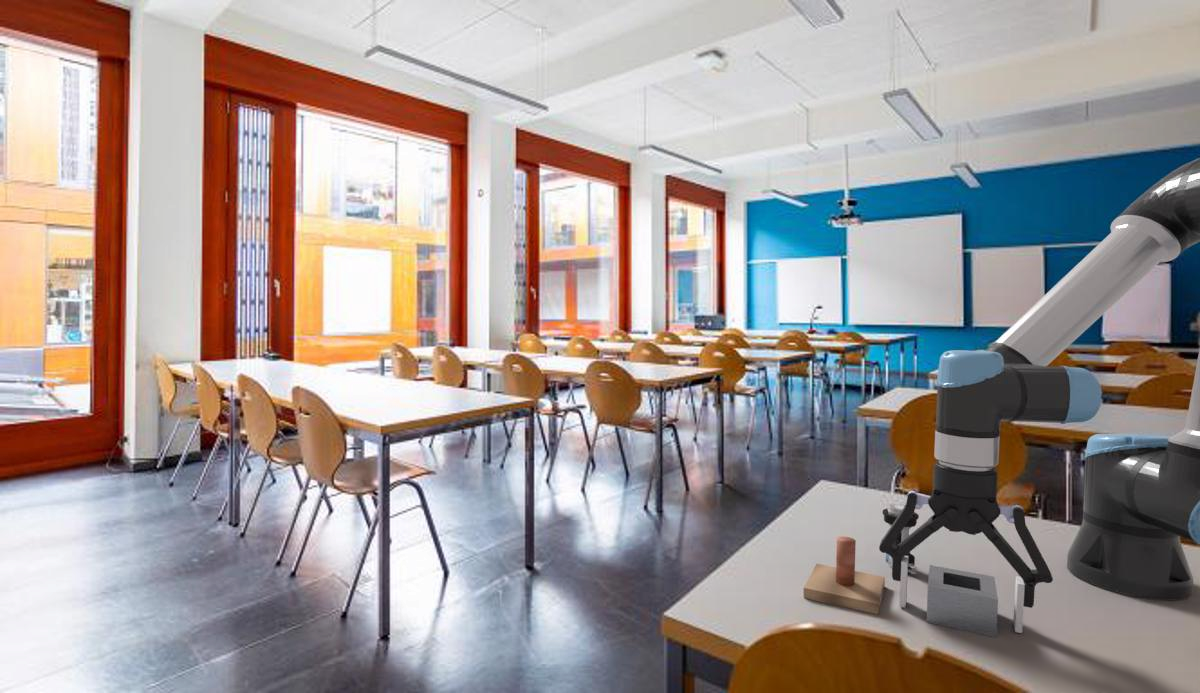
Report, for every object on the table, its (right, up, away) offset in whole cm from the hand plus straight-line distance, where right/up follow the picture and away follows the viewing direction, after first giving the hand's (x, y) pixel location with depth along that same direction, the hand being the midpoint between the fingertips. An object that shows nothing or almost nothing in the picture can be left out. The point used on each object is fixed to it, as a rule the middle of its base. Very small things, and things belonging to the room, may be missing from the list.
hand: (958, 615), depth 86 cm
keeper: (-13, 0, +7) cm, 15 cm away
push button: (0, +1, +16) cm, 16 cm away
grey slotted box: (0, 0, 0) cm, 0 cm away
